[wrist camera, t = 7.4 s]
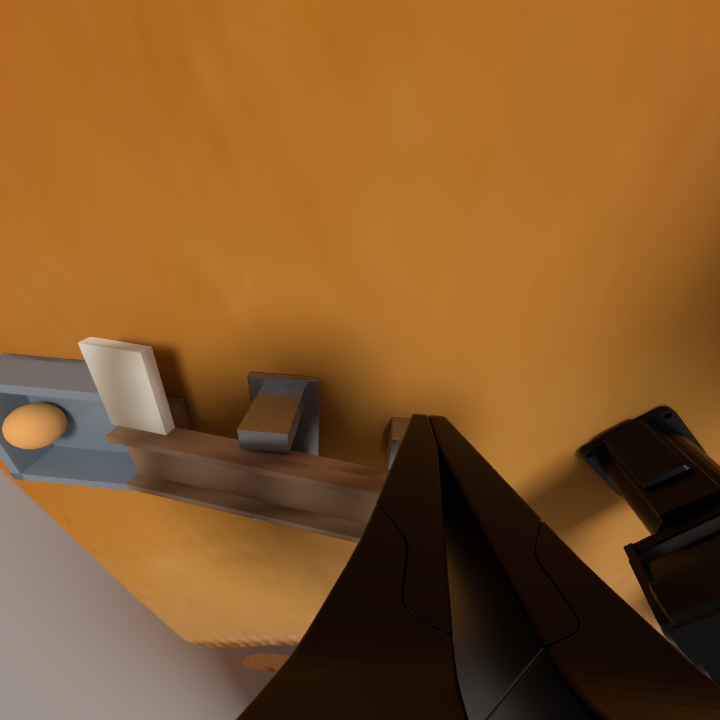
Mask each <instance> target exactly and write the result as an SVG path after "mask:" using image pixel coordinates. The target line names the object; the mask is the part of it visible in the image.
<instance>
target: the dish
mask: <svg viewBox="0 0 720 720" xmlns="http://www.w3.org/2000/svg"><path fill="white" fill-rule="evenodd" d="M30 403H47V404H51V405H54V406H56V407H58V408H59V409H60V410H61V411H62V412H63V413H64V414H65V416H66V419H67V426H66V429H65V431H64V433H63V434H62V436H61V437H60V438H59V439H58V440H56V441H55V442H53V443H52V444H50V445H48V446H45V447H42V448H37V449H22V448H18V447H16V446H13V445H12V444H10V443H9V442H8V441H7V440H6V439H5V438H4V436H3V433H2V426H3V422H4V420H5V419H6V417H7V416H8V415H9V414H10V413H11V412H12V411H13V410H15V409H17V408H19V407H21V406H23V405H26V404H30ZM117 426H118V425H114V424H112V423H111V421H110V419H109V416H108V414H107V411H106V409H105V407H104V404H103V402H102V399H101V397H100V395H99V392H98V390H97V387H96V385H95V383H94V380H93V378H92V375H91V373H90V371H89V368H88V366H87V363H86V361H83V360H71V359H60V358H49V357H38V356H26V355H15V354H4V353H2V354H0V458H1V460H2V461H3V463H4V464H5V466H6V467H7V469H8V470H9V472H10V473H11V474H12V476H13V477H14V479H18V480H28V481H38V482H48V483H59V484H69V485H79V486H89V487H100V488H110V489H120V490H130V491H135V490H131V489H128V487H127V483H128V482H129V481H130V480H131V479H132V478H133V477H134V476H135V475H136V474H137V470H136V468H135V465H134V463H133V460H132V458H131V455H130V453H129V450H128V448H127V446H125V445H121V444H116V443H111V442H108V441H107V439H106V437H105V436H106V435H107V434H108V433H109V432H111V431H112V430H113V429H115V428H116V427H117Z"/></svg>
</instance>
